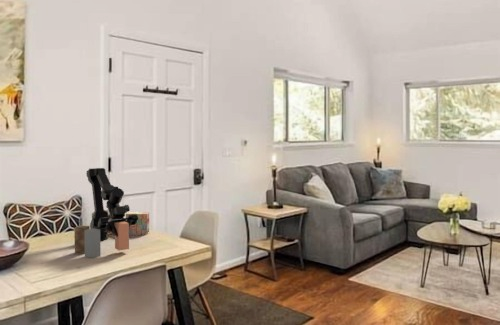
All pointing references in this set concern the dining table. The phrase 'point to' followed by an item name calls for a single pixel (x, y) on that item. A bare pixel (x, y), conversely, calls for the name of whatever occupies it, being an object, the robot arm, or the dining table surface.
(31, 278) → the dining table surface
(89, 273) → the dining table surface
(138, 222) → the stack of blocks
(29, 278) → the dining table surface
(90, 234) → the slate grey block
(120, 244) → the terracotta block
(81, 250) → the walnut block
